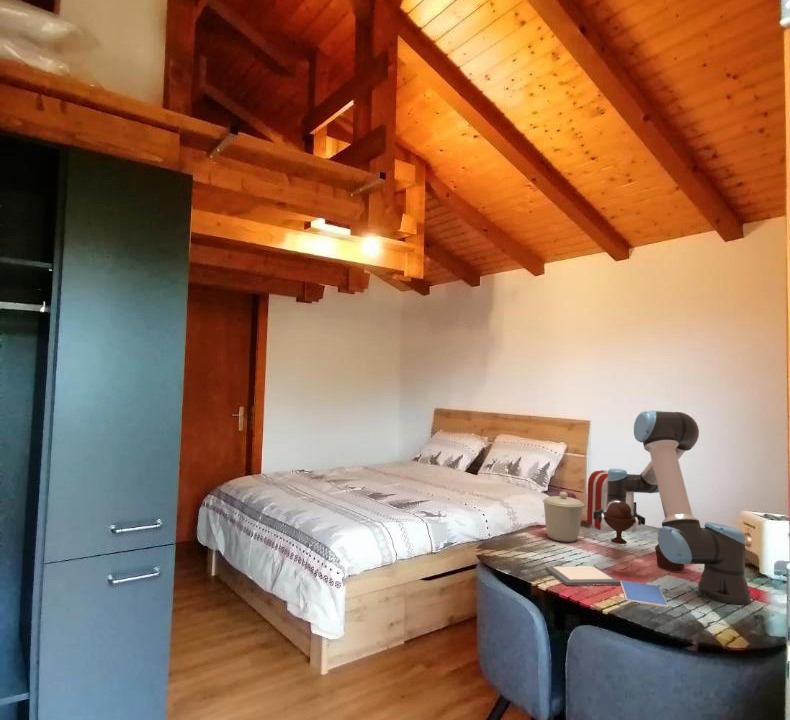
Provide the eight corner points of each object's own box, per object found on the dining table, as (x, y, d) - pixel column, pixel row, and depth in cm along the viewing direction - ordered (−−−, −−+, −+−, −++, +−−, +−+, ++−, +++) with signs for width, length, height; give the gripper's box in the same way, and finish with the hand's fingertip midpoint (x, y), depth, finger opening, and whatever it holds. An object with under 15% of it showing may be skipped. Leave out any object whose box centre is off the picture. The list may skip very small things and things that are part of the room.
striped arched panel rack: (616, 522, 279) (618, 470, 281) (634, 532, 262) (635, 476, 263) (585, 521, 278) (587, 469, 280) (600, 531, 261) (602, 474, 262)
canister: (587, 538, 246) (588, 491, 247) (577, 547, 231) (579, 497, 232) (547, 531, 256) (549, 486, 257) (536, 539, 240) (537, 491, 242)
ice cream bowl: (628, 538, 208) (629, 499, 208) (638, 547, 197) (639, 505, 197) (600, 537, 209) (600, 497, 210) (608, 545, 198) (609, 503, 198)
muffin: (655, 560, 217) (656, 535, 218) (687, 566, 211) (687, 540, 212) (652, 568, 207) (653, 542, 207) (685, 575, 201) (686, 547, 202)
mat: (620, 585, 187) (620, 581, 187) (566, 586, 184) (566, 582, 184) (595, 569, 203) (595, 566, 203) (545, 570, 199) (545, 566, 199)
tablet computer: (619, 583, 191) (619, 579, 191) (659, 588, 187) (659, 584, 187) (625, 603, 172) (625, 599, 172) (669, 610, 168) (669, 605, 169)
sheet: (612, 580, 188) (612, 578, 188) (570, 580, 185) (570, 579, 186) (592, 567, 201) (592, 566, 201) (552, 568, 198) (552, 566, 198)
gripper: (648, 524, 216) (654, 537, 195) (586, 516, 224) (586, 528, 203) (649, 505, 216) (655, 516, 196) (587, 498, 224) (586, 508, 204)
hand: (619, 522), depth 199 cm, fingers closed on ice cream bowl, 11 cm apart
